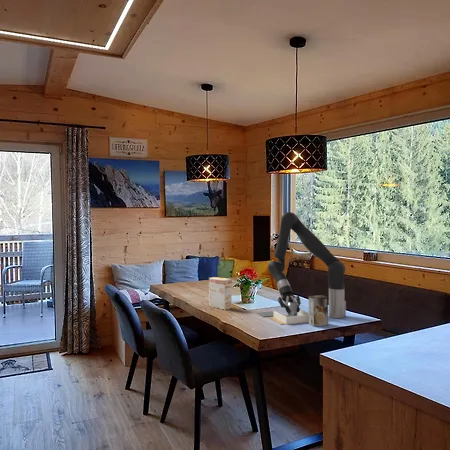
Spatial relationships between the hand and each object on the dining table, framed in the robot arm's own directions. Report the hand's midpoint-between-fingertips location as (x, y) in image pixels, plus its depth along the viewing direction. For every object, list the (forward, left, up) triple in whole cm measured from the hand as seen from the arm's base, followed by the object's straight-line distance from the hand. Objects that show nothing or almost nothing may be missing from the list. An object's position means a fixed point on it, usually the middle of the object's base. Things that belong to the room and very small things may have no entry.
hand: (293, 312), depth 254 cm
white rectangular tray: (0, -2, -5) cm, 5 cm away
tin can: (0, -2, -5) cm, 5 cm away
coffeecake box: (+30, -46, -5) cm, 55 cm away
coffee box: (-8, +14, -5) cm, 17 cm away
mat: (+9, -17, -5) cm, 20 cm away
